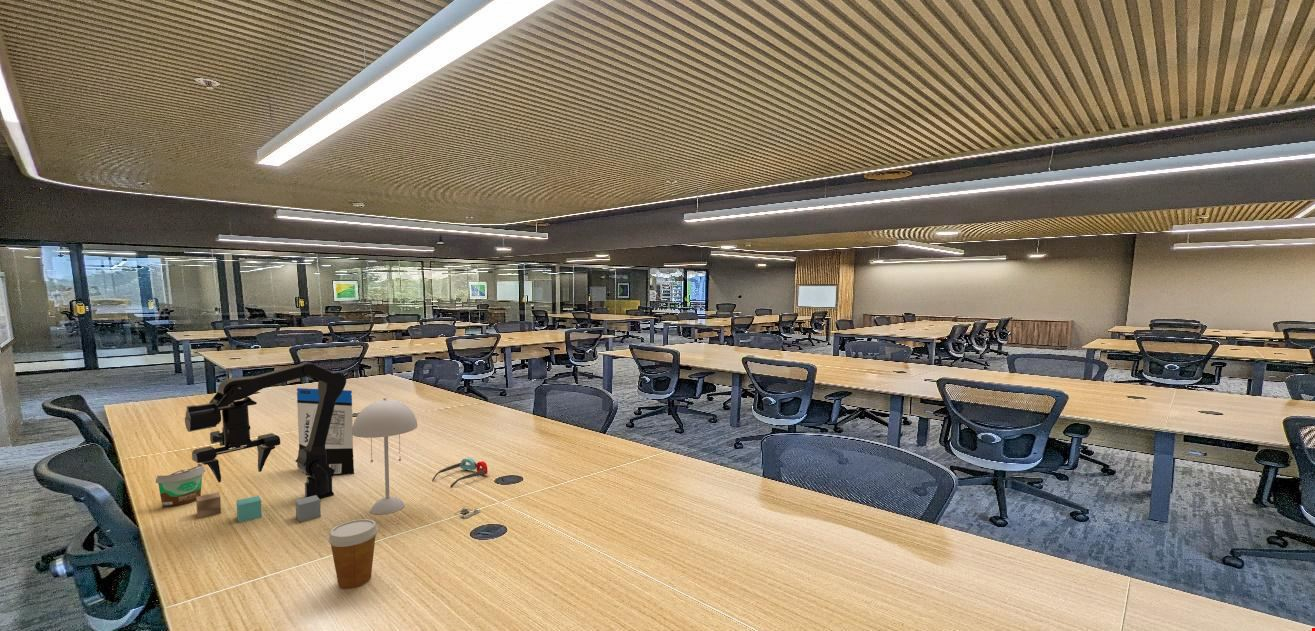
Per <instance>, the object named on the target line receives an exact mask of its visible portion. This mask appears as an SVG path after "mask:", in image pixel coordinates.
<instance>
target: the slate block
mask: <svg viewBox="0 0 1315 631" xmlns="http://www.w3.org/2000/svg"><path fill="white" fill-rule="evenodd" d="M321 513H322V512H321V498H318V497H317V495H314V496H310V497H306V496H305V497H303V498H299V499H295V517H296V519H297V520H298V522H299V523H301V522H306V521H308V520H309V521H310V520H314V519H317V518H321V517H322V514H321Z"/></svg>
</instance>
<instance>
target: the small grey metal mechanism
mask: <svg viewBox="0 0 1315 631" xmlns="http://www.w3.org/2000/svg"><path fill="white" fill-rule="evenodd" d="M470 511H471V513H470ZM458 513H460V514H462V515H459V514H458ZM480 513H481V510H480V509H477V508H476V509H473V510H472V509H469V508H466V507H463V508H462V509H461V510H458V511H457V512H455V513H454V515H455V516H459V517H460V519H463V520H467V519H468V518H469V519H470V518H472V517H473V516H476V515H477V514H480ZM466 514H467V515H466Z"/></svg>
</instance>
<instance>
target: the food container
mask: <svg viewBox="0 0 1315 631" xmlns="http://www.w3.org/2000/svg"><path fill="white" fill-rule="evenodd" d="M205 472H206V469H205V466H204V464H202V463H197V466H195V467H191V468H188V469H181V470H178V471H175V472H173V473H171V474H167V475H157V476H156V478H155V484H158V490H159V494H160V495H159V496H160V501H161V502H160V503H161V507H162V508H174V507H180V506H184V505H189V504H191V503H195V502H196V497H198V496H202V483H203V474H205Z"/></svg>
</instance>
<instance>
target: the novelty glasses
mask: <svg viewBox="0 0 1315 631" xmlns="http://www.w3.org/2000/svg"><path fill="white" fill-rule="evenodd" d="M467 463H468V464H467ZM457 468H460V469H461V470H462V471H463V472H465V471H467V470H469V471H474V470H476V471H475V472H472V473H470V474H467V475H465V476H462V477H460V478H458V479H456V480H455V481H454V482H453V483H451V484H450V486H449V488H454V487H455V485H456V484H457V483H458V482H460V481H462V480H465V479H471V478H474V477H477V476H480V475H483V476H484V475H487V474H488V465H487V463H486V462H485V461H484V460H481V461H478V462H476V461H475V460H474V458H471V457H466V458H463V459H462V460H461V461H460V462H458V463H455V464H453V465H450V466H446V467H445V468H443V469H440V470H438V472H437V473H436V474H435V475H434V476H433V478H432V480H431V482H432V483H433V482H434V481H435V480H436V477H437V475H439V474H441V473H444V472H447V471H450V470H454V469H457Z"/></svg>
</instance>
